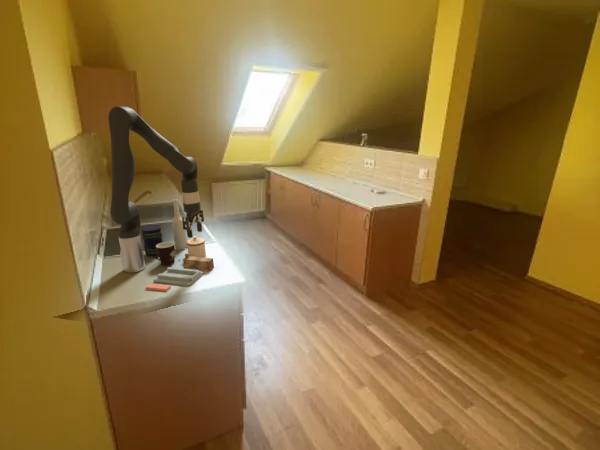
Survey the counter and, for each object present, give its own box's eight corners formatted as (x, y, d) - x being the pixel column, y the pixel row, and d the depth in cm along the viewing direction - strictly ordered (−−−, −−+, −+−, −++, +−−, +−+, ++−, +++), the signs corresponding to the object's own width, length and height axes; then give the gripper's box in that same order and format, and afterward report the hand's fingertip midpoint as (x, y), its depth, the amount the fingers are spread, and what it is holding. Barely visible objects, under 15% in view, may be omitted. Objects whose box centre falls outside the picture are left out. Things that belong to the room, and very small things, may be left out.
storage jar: (141, 256, 175) (136, 229, 171) (152, 249, 184) (148, 224, 180) (157, 257, 173) (153, 231, 169) (168, 251, 182) (165, 225, 178)
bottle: (175, 250, 183) (169, 201, 174) (174, 246, 188) (168, 199, 180) (188, 248, 185) (182, 200, 177) (186, 244, 191) (180, 198, 182)
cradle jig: (153, 281, 147) (153, 276, 146) (170, 270, 158) (169, 265, 157) (189, 286, 143) (188, 280, 142) (203, 274, 154) (203, 268, 153)
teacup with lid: (209, 256, 174) (207, 235, 171) (196, 262, 167) (193, 240, 164) (194, 251, 181) (192, 231, 177) (181, 257, 174) (178, 236, 170)
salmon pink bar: (146, 290, 141) (145, 287, 140) (150, 286, 144) (150, 283, 143) (166, 292, 139) (166, 289, 138) (170, 289, 141) (170, 285, 141)
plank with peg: (184, 268, 161) (182, 255, 159) (188, 265, 164) (187, 252, 162) (209, 271, 157) (208, 257, 155) (213, 267, 161) (212, 254, 159)
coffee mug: (171, 258, 172) (168, 240, 169) (180, 262, 167) (177, 244, 164) (149, 265, 164) (146, 247, 161) (158, 270, 158) (155, 251, 155)
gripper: (192, 197, 158) (196, 229, 163) (174, 204, 145) (179, 238, 150) (206, 198, 156) (209, 230, 161) (190, 205, 143) (194, 240, 148)
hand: (195, 234), depth 156 cm, fingers open, 8 cm apart
